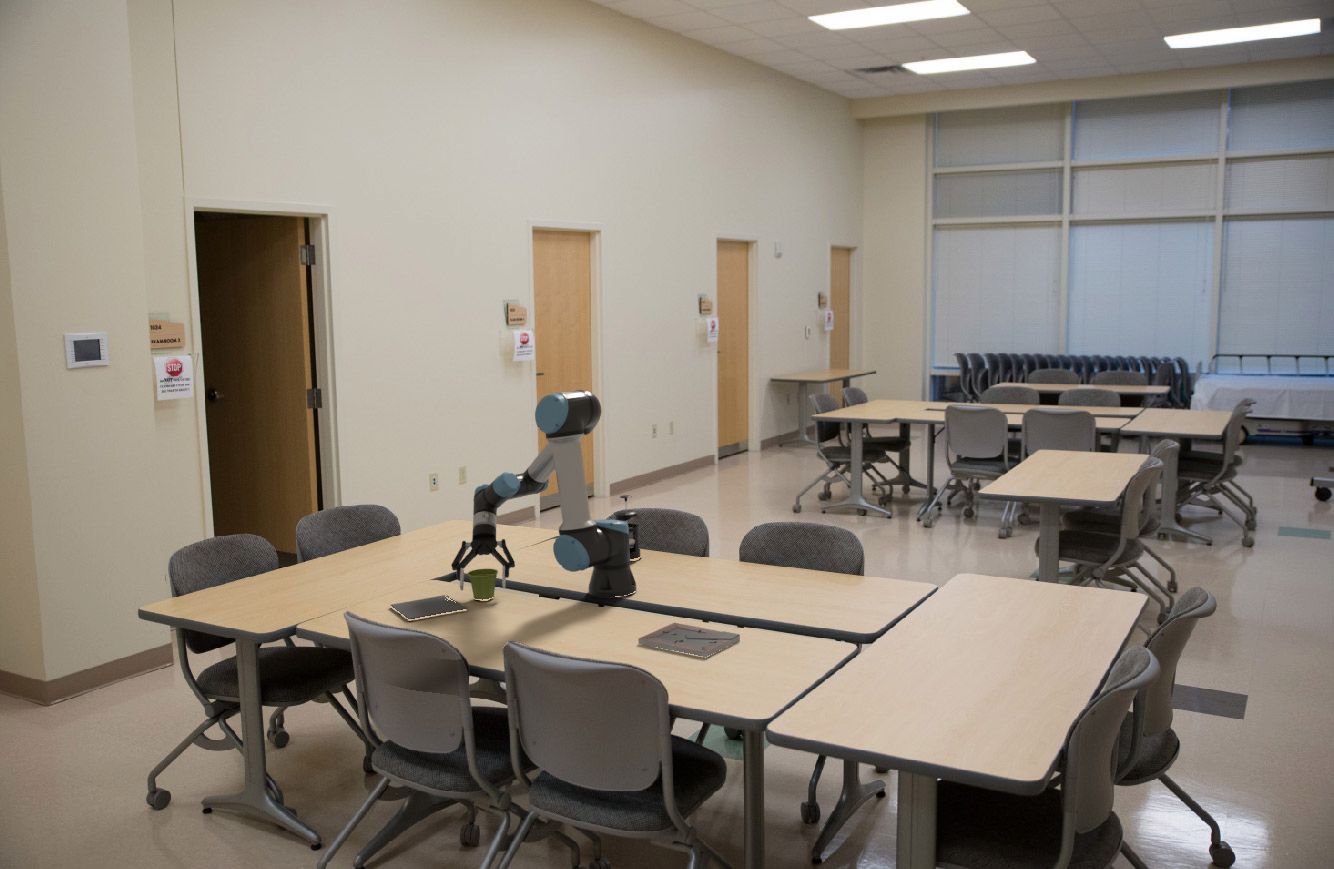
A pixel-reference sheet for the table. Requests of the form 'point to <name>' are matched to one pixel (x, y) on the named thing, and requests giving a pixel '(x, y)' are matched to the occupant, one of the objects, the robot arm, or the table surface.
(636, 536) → the french press
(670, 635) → the picture frame
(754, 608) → the table surface
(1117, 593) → the table surface
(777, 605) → the table surface
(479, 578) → the plant pot
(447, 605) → the charcoal mat
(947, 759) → the table surface
